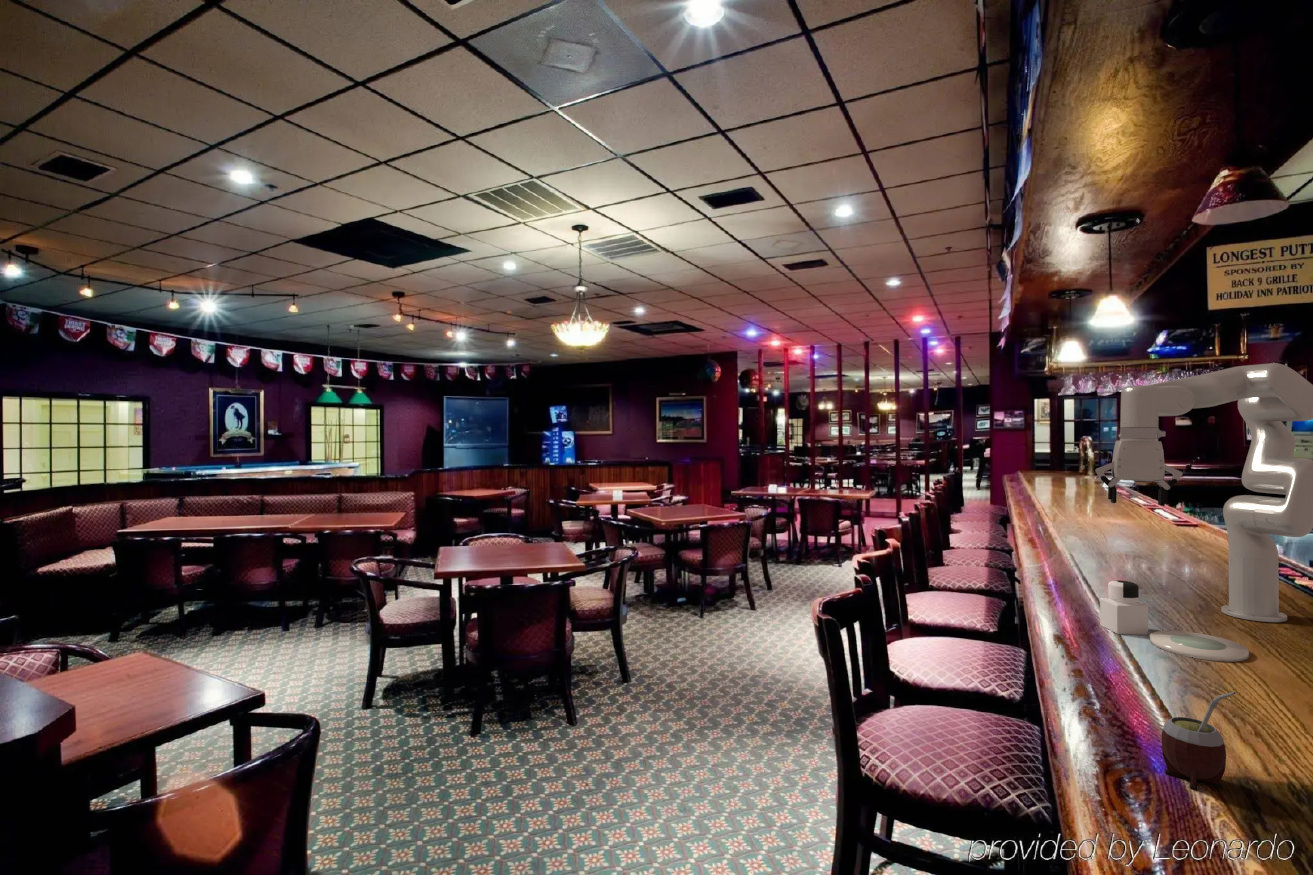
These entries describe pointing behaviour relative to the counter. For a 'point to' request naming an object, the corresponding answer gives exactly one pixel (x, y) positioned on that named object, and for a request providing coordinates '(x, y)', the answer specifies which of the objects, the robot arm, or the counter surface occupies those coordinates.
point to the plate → (1199, 646)
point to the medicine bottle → (1124, 609)
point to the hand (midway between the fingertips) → (1137, 504)
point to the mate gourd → (1195, 749)
